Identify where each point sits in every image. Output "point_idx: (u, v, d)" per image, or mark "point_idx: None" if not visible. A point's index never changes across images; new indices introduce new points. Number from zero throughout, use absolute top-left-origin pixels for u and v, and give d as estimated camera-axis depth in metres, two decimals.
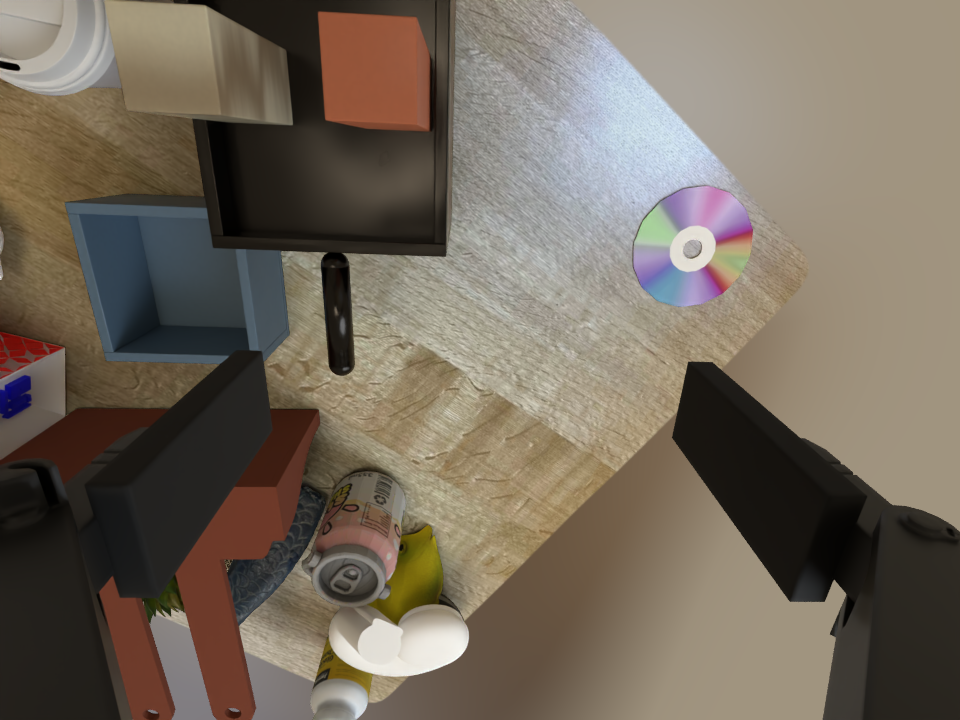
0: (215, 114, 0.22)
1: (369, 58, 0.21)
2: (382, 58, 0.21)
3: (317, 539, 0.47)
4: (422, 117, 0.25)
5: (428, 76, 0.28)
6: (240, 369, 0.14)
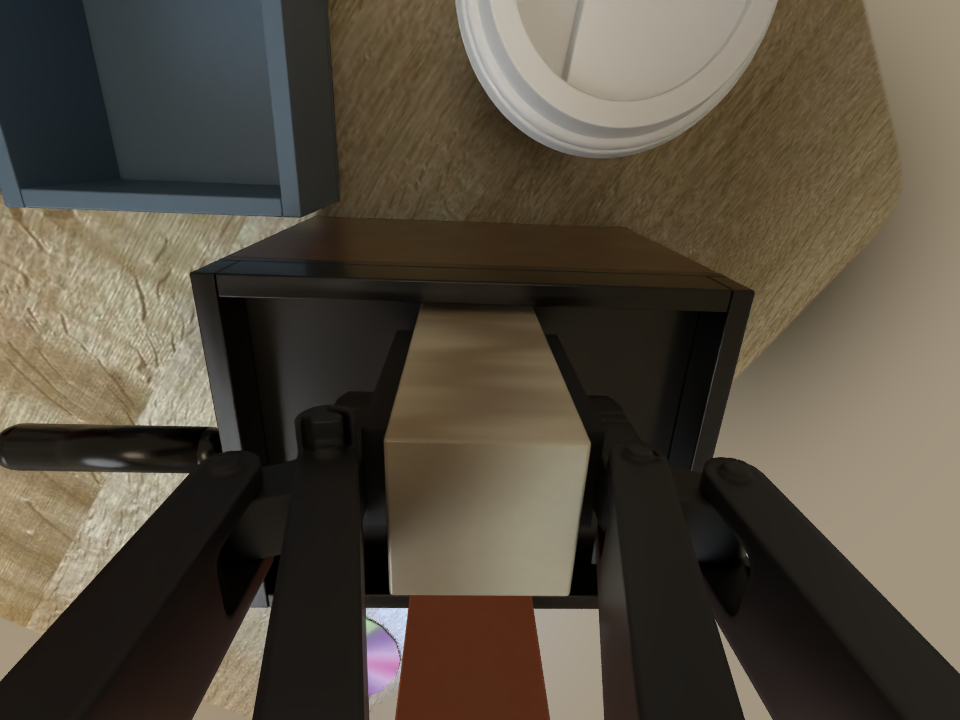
0: (390, 584, 0.11)
1: None
2: None
3: None
4: None
5: None
6: None
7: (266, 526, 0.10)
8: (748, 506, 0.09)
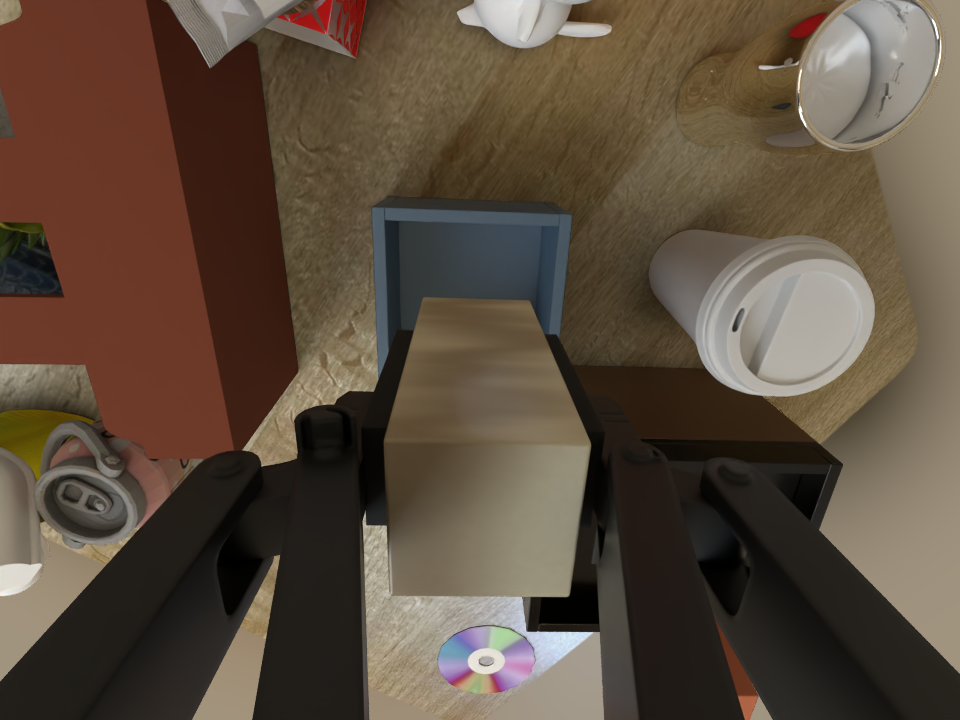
0: (390, 585, 0.11)
1: None
2: None
3: (134, 445, 0.35)
4: None
5: None
6: None
7: (266, 526, 0.10)
8: (748, 506, 0.09)
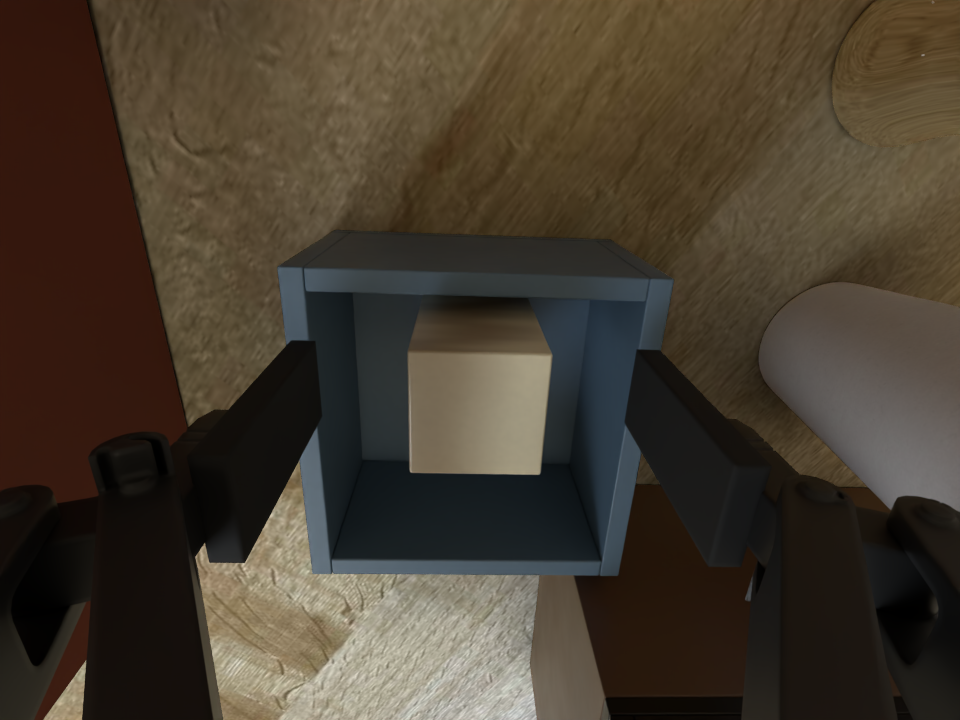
0: (410, 465, 0.15)
1: None
2: None
3: None
4: None
5: None
6: (299, 357, 0.15)
7: (71, 561, 0.09)
8: (946, 550, 0.08)
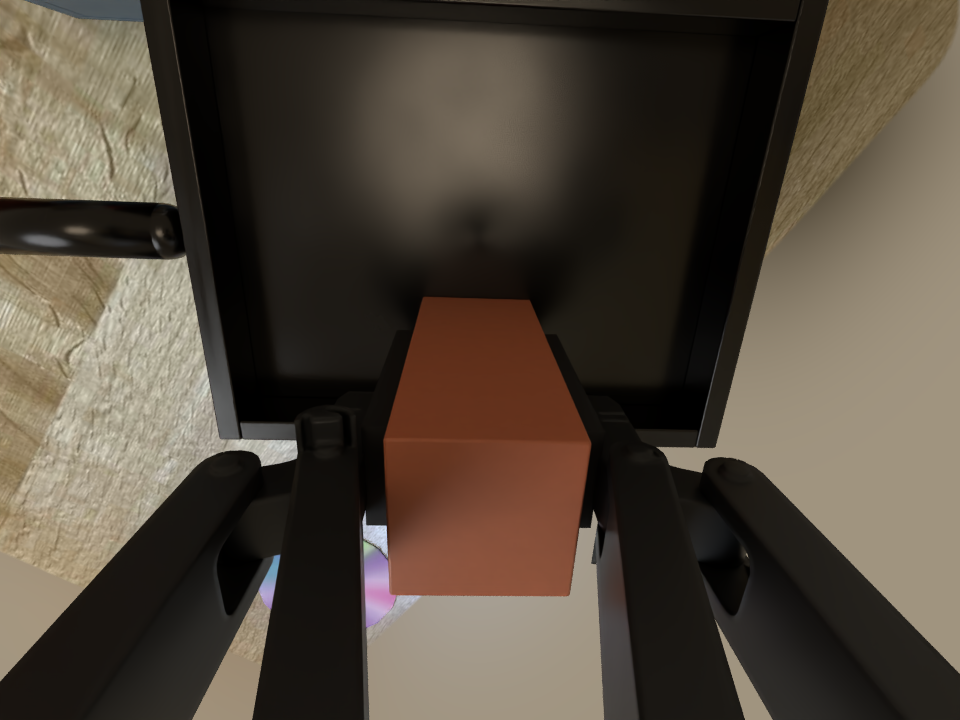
0: None
1: (504, 526, 0.10)
2: (503, 545, 0.11)
3: None
4: None
5: None
6: None
7: (266, 526, 0.10)
8: (748, 506, 0.09)
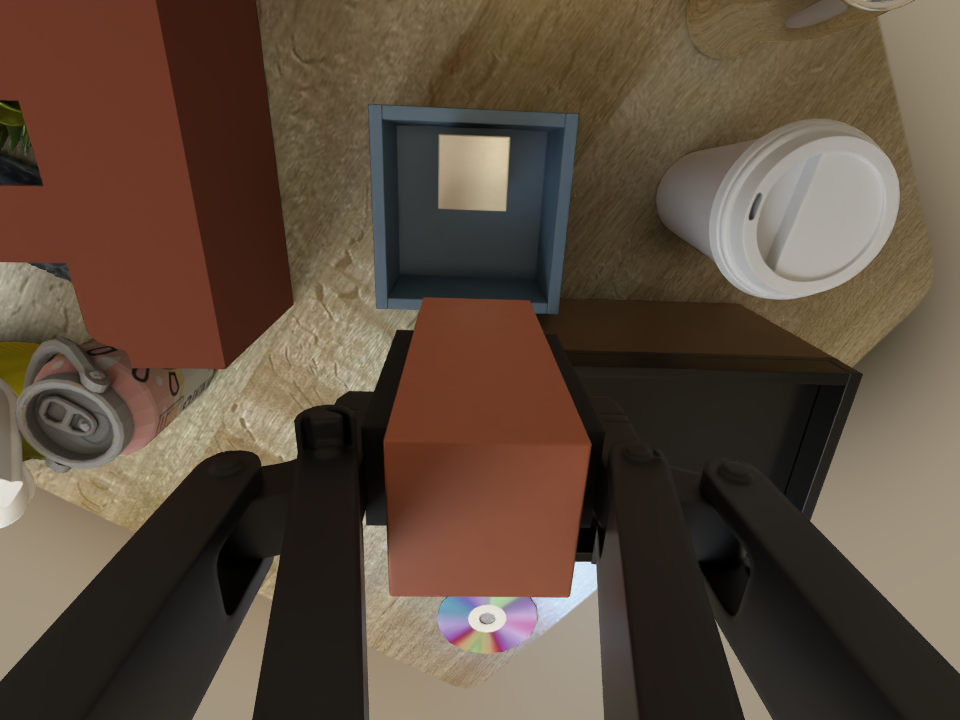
0: (438, 203, 0.29)
1: (504, 527, 0.10)
2: (503, 547, 0.11)
3: (121, 364, 0.34)
4: None
5: None
6: None
7: (266, 526, 0.10)
8: (748, 506, 0.09)
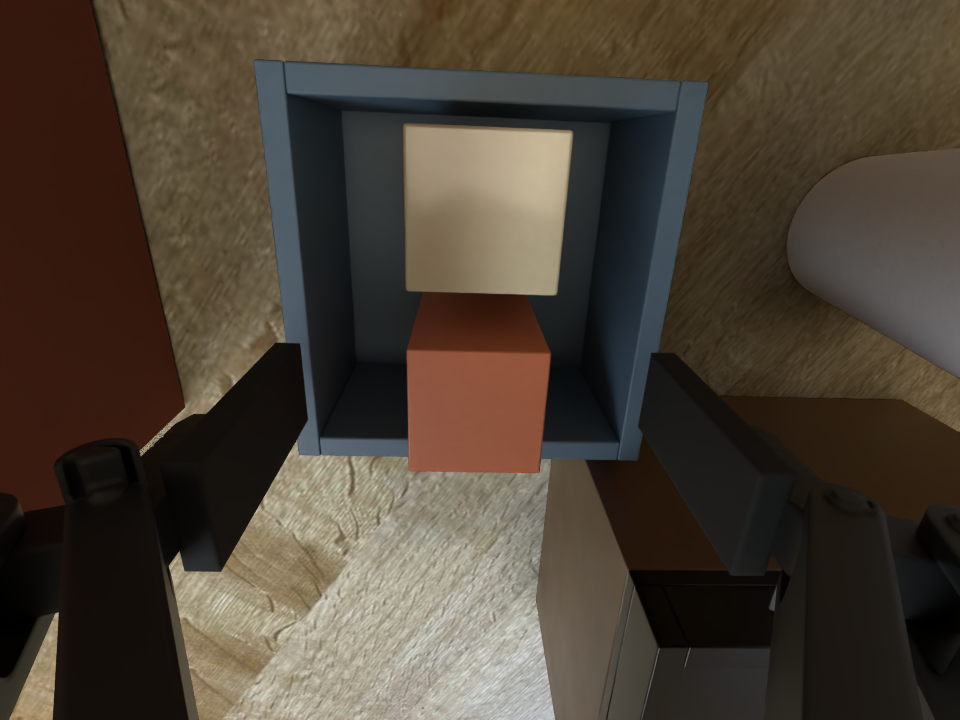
0: (406, 281, 0.13)
1: (491, 416, 0.15)
2: (490, 432, 0.15)
3: None
4: None
5: None
6: (282, 360, 0.14)
7: (39, 570, 0.09)
8: None
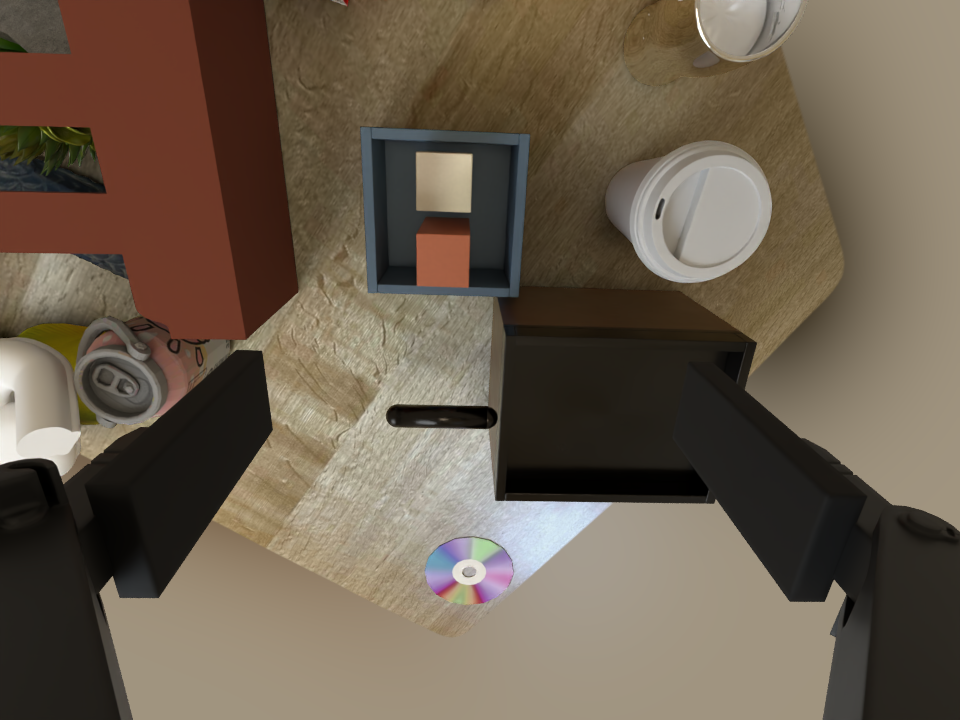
0: (416, 206, 0.37)
1: (448, 261, 0.38)
2: (448, 268, 0.39)
3: (158, 338, 0.41)
4: None
5: None
6: (240, 369, 0.14)
7: None
8: None
